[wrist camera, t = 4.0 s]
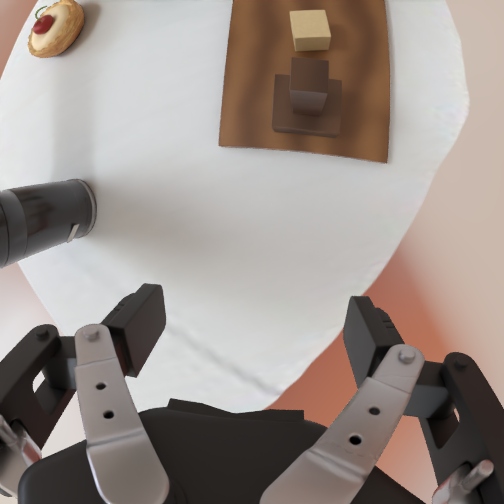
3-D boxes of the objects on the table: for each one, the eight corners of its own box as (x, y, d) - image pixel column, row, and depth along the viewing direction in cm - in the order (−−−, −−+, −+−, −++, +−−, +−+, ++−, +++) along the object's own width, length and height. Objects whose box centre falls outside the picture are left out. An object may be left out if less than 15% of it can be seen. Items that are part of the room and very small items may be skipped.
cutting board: (221, 146, 34) (218, 146, 33) (238, -18, 27) (236, -23, 26) (383, 163, 32) (387, 163, 30) (380, -6, 25) (382, -11, 23)
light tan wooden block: (295, 51, 28) (294, 38, 25) (290, 26, 27) (289, 11, 24) (328, 50, 28) (331, 36, 24) (322, 24, 27) (324, 9, 23)
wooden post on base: (274, 132, 32) (258, 108, 19) (277, 84, 30) (263, 38, 18) (335, 138, 31) (355, 118, 18) (337, 90, 29) (356, 47, 17)
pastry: (40, 69, 35) (7, 62, 26) (50, 21, 32) (20, 10, 23) (85, 47, 33) (50, 33, 24) (94, -3, 30) (65, -21, 21)
